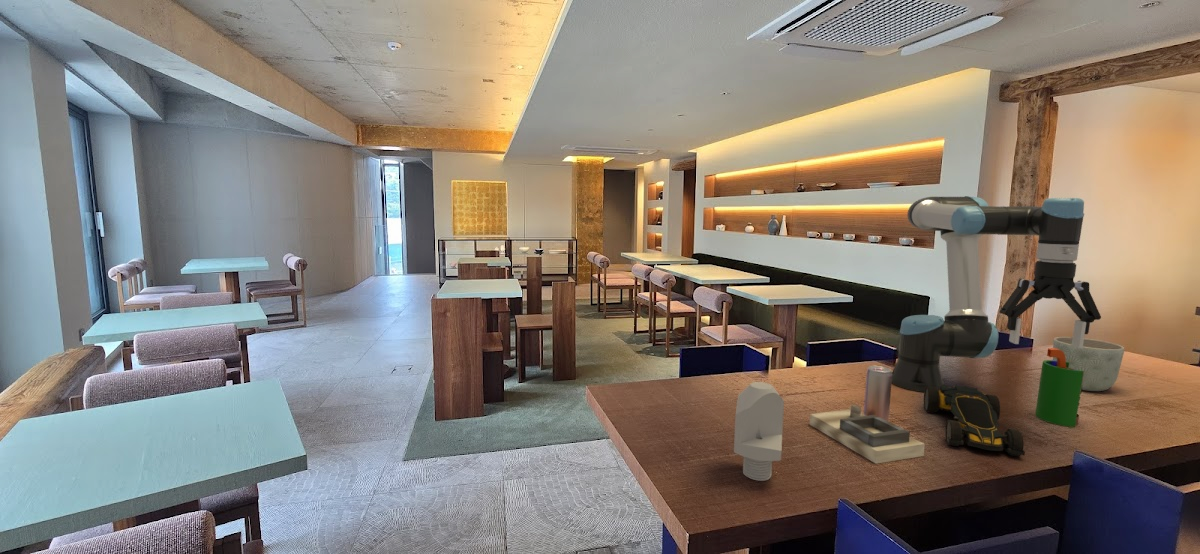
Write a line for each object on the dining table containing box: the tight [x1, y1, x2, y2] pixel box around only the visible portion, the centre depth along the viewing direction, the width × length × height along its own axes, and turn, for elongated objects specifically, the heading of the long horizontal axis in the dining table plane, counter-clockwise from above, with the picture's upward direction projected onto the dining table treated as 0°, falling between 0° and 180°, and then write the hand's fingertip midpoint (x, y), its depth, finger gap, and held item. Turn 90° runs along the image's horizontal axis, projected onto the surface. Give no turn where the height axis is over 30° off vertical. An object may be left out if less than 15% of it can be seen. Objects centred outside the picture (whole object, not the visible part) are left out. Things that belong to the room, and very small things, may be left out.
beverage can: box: [863, 365, 893, 422], centre depth 136 cm, size 6×6×15 cm
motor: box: [1034, 347, 1084, 428], centre depth 138 cm, size 10×9×20 cm
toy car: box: [923, 385, 1026, 458], centre depth 131 cm, size 16×32×10 cm, turn 155°
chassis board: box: [809, 404, 926, 465], centre depth 125 cm, size 22×14×6 cm, turn 16°
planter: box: [1052, 336, 1125, 392], centre depth 166 cm, size 17×17×15 cm
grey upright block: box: [733, 381, 785, 482], centre depth 107 cm, size 9×9×20 cm
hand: (1045, 344), depth 126 cm, fingers open, 13 cm apart
